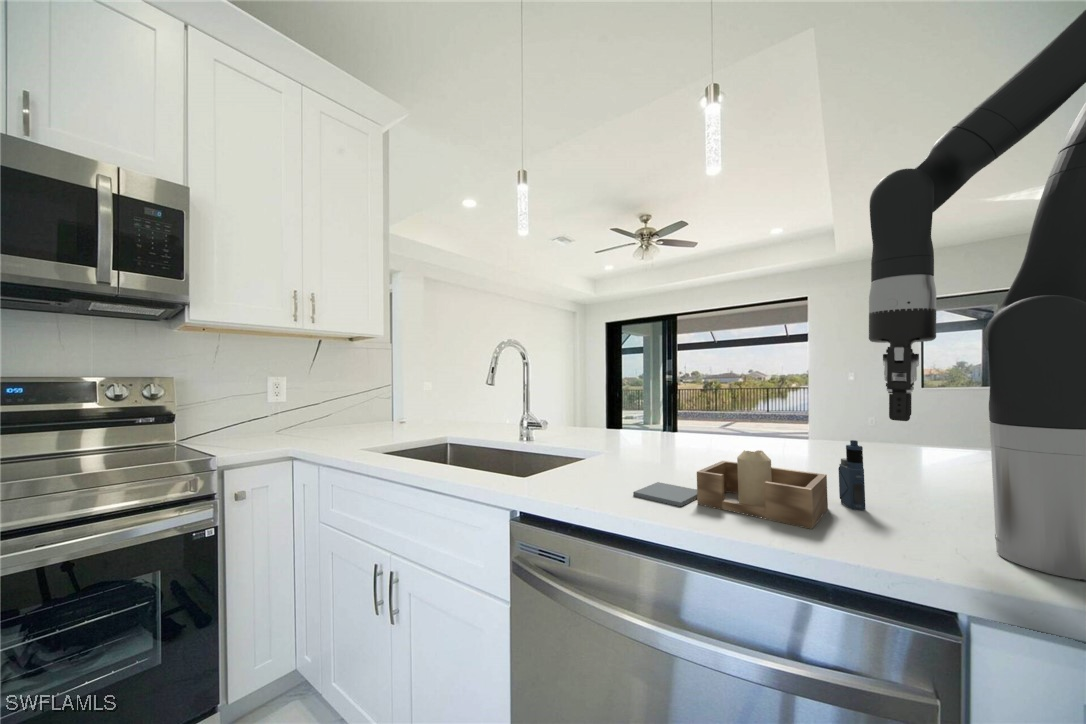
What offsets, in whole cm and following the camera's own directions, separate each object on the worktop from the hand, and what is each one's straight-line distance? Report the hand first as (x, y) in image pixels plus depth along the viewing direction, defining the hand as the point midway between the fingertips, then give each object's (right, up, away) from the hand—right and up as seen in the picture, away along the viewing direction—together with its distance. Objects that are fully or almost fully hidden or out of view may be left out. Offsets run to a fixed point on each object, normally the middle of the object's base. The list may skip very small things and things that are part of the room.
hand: (900, 418), depth 60 cm
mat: (-28, -18, +20) cm, 39 cm away
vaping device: (+3, -18, +13) cm, 22 cm away
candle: (-14, -18, +14) cm, 27 cm away
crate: (-14, -18, +13) cm, 26 cm away
